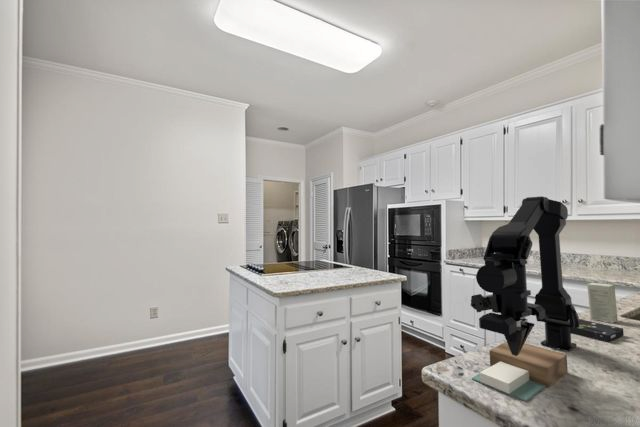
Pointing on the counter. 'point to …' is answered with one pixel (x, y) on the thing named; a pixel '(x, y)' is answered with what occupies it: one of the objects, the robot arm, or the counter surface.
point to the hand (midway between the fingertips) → (515, 354)
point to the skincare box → (602, 302)
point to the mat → (520, 389)
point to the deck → (533, 362)
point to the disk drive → (598, 331)
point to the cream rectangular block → (504, 376)
